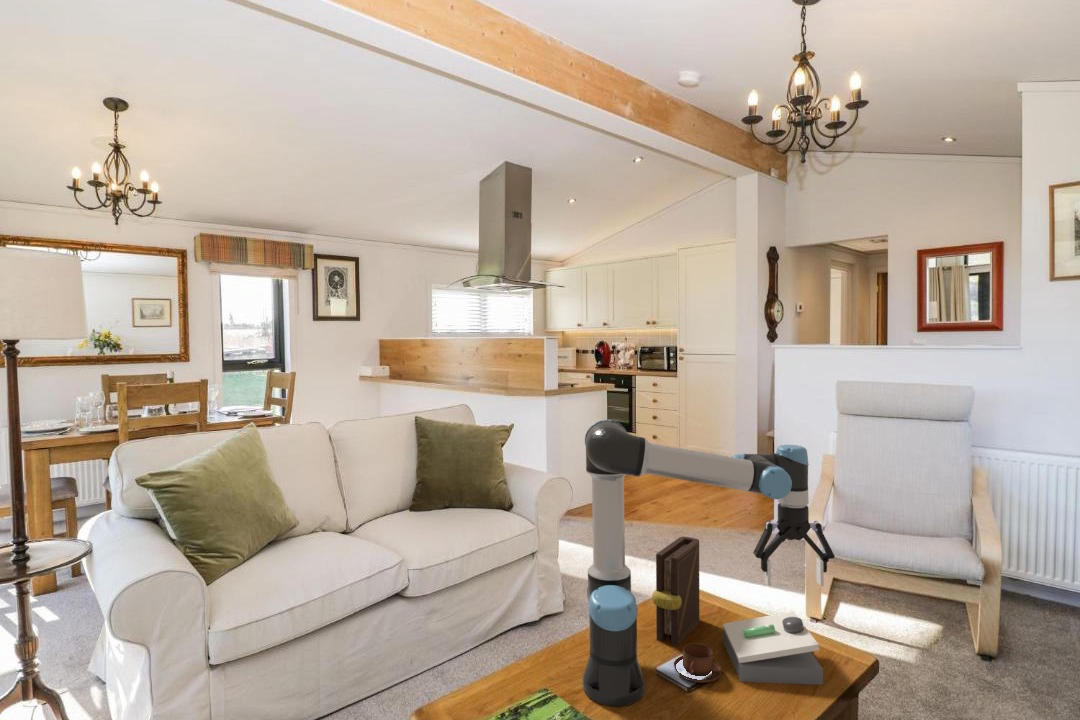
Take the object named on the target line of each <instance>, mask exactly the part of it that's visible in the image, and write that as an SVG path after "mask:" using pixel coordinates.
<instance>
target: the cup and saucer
mask: <svg viewBox="0 0 1080 720" xmlns="http://www.w3.org/2000/svg"><path fill="white" fill-rule="evenodd" d="M682 659H683V666H684V668H685V669H686V671H687V672H689V673H690V674H691V675H695V676H706V675H708V674H709V673H710V672H711V671H712V676H711V677H710V678H708V679H706V680H697V679H692V678H689V677H686V676H684V675H682V674H681V673H679V672H678V671H677V669H676V664H677V663H678V662H679V661H680V660H682ZM673 668H674V670H675V671H676V672H678V673H679V674H680V677H682V676H683V677H682V678H684V677H685V678H687V679H689V680H688V681H690V680H692V681H691V682H693V681H696V682H695V683H701V684H702V683H704V684H705V683H711V682H715V681H716V680H717V679H719V678H720V677H721V675H722V673H723V668H722V666H721V664H719V662H717V661H716V660H715V659H713V650H712V649H711V648H710V647H709V646H707V645H705V644H701V643H695V642H694V643H688V644H685V645H684V646H683V648H682V655H681V656H679V657H677V658H676V659H674V662H673ZM678 673H677V674H678ZM679 674H678V675H679ZM685 678H684V679H685ZM687 679H686V680H687Z"/></svg>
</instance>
